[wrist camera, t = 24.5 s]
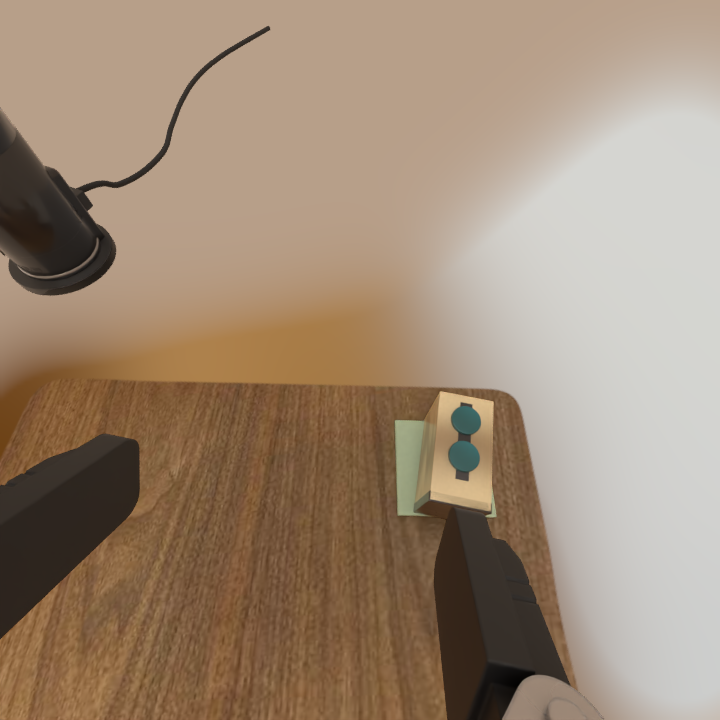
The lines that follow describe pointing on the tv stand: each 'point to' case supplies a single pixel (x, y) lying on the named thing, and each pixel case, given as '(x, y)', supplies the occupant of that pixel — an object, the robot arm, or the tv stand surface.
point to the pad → (411, 465)
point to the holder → (456, 457)
